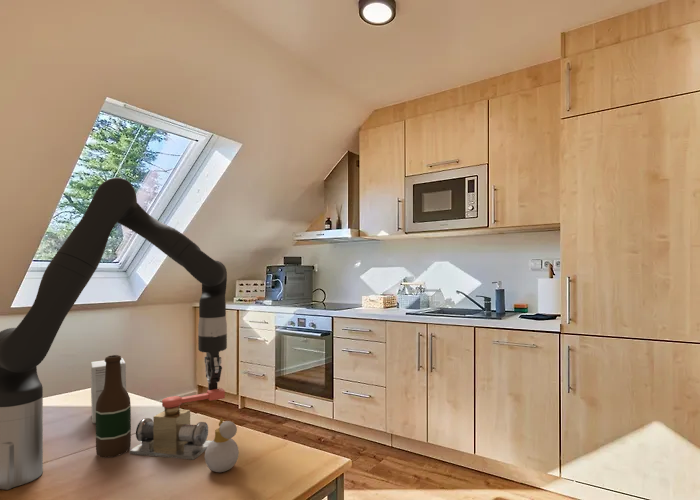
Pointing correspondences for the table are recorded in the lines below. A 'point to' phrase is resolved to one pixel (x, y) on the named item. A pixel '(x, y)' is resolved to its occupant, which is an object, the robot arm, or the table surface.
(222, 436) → the perfume bottle
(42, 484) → the table surface
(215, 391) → the lever
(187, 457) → the valve
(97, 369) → the supplement box
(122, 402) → the beer bottle
